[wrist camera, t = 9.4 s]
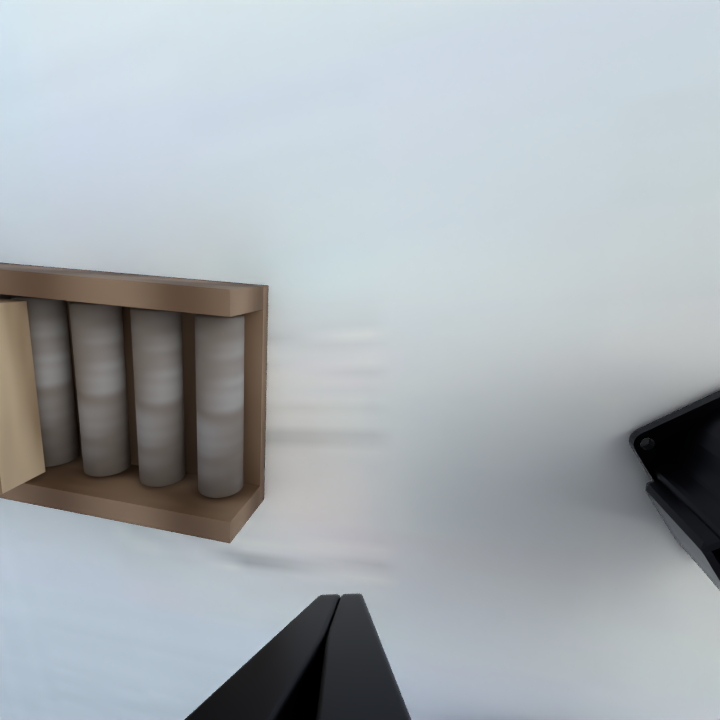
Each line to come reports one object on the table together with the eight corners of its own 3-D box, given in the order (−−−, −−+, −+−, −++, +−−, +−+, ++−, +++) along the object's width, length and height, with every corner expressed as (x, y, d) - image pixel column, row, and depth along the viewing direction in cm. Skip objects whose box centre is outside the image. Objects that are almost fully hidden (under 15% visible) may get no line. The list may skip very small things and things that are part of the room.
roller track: (268, 285, 19) (199, 293, 13) (264, 499, 21) (204, 576, 16) (-45, 259, 21) (-204, 256, 16) (-17, 449, 24) (-147, 501, 19)
